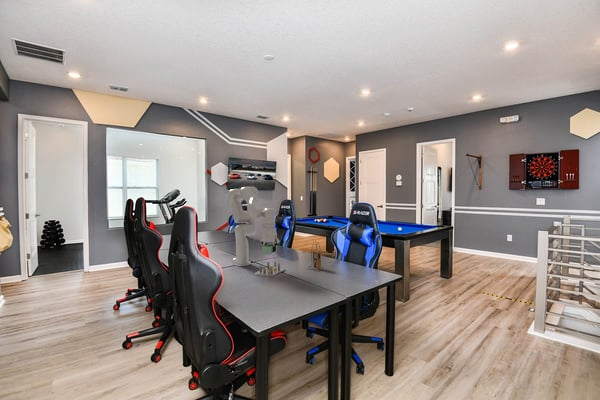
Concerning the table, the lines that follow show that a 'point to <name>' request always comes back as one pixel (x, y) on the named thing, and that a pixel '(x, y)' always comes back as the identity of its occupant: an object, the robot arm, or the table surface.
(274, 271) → the chassis
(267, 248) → the module
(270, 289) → the table surface
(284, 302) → the table surface
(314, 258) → the multimeter
